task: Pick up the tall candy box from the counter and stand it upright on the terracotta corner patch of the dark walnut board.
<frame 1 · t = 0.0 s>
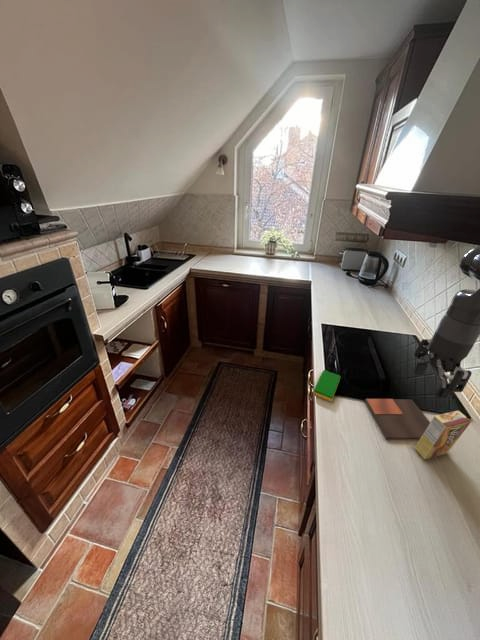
hand: (428, 385, 67), 25 cm above the worktop, tool pointing down, fingers open, 8 cm apart
candy box: (430, 451, 78), on the worktop
board: (399, 418, 89), on the worktop
dish sponge: (326, 387, 101), on the worktop
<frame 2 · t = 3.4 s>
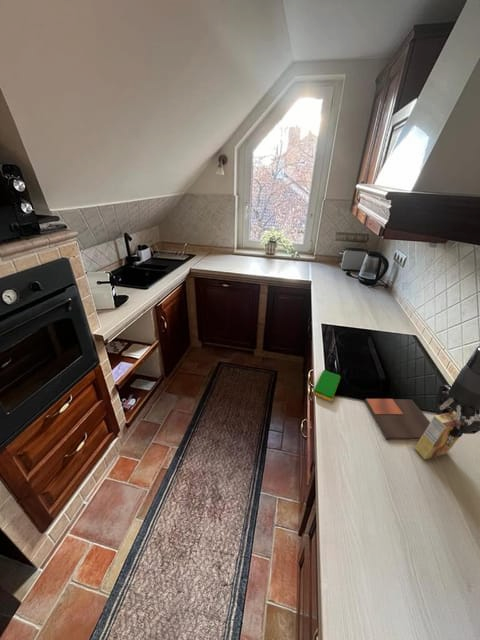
hand: (446, 427, 73), 11 cm above the worktop, tool pointing down, fingers closed on candy box, 4 cm apart
candy box: (430, 451, 78), on the worktop, touching gripper
everything else where it was.
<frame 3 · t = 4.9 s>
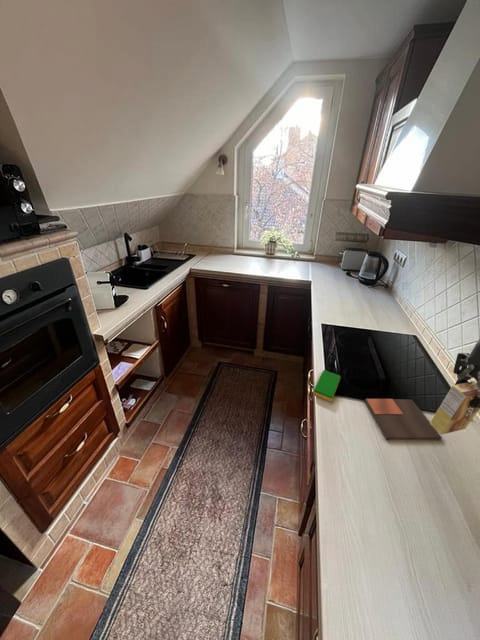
hand: (465, 398, 67), 23 cm above the worktop, tool pointing down, fingers closed on candy box, 4 cm apart
candy box: (446, 427, 73), point 11 cm above the worktop, touching gripper
everything else where it was.
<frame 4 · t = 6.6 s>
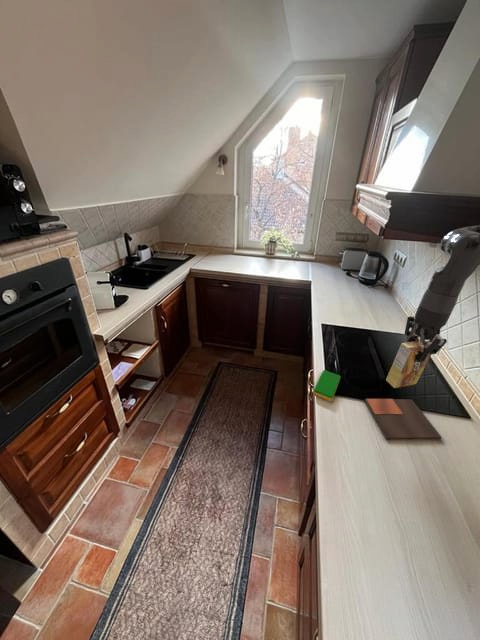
hand: (413, 355, 78), 26 cm above the worktop, tool pointing down, fingers closed on candy box, 4 cm apart
candy box: (400, 382, 84), point 14 cm above the worktop, touching gripper
everything else where it was.
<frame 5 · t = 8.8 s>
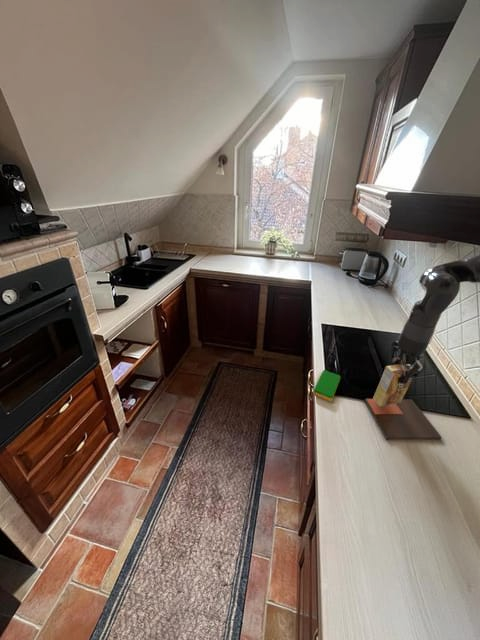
hand: (397, 376, 85), 15 cm above the worktop, tool pointing down, fingers closed on candy box, 4 cm apart
candy box: (386, 401, 91), point 4 cm above the worktop, touching gripper
everything else where it was.
when the fingers open (13 cm above the worktop, at t = 10.0 s): candy box stays where it is, resting on board.
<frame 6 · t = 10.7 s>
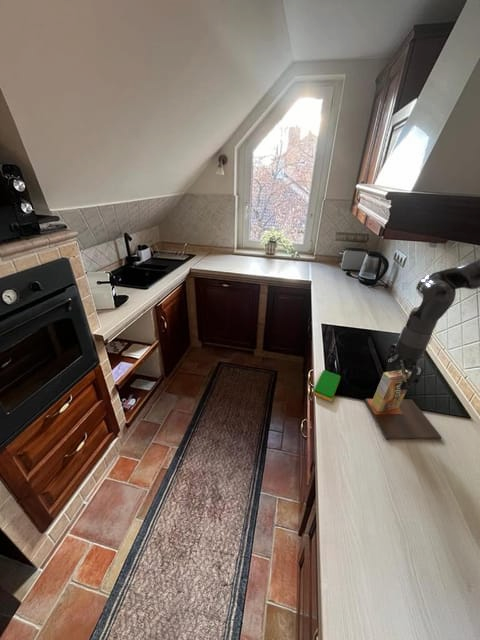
hand: (395, 380, 85), 14 cm above the worktop, tool pointing down, fingers open, 8 cm apart
candy box: (384, 406, 92), point 1 cm above the worktop, touching board
everything else where it was.
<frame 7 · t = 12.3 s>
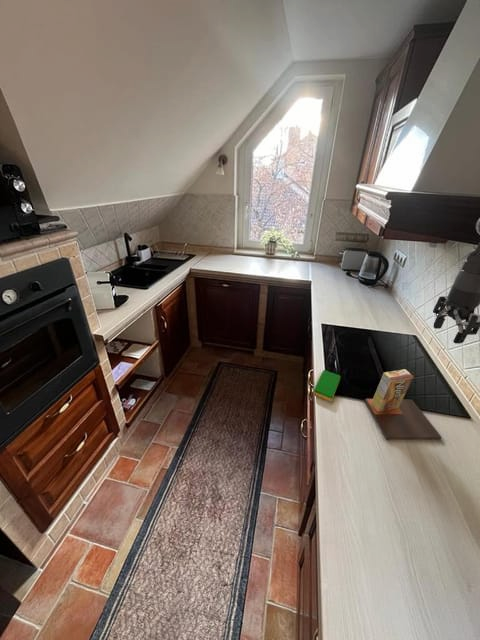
hand: (446, 335, 79), 31 cm above the worktop, tool pointing down, fingers open, 8 cm apart
nothing on the worktop moved.
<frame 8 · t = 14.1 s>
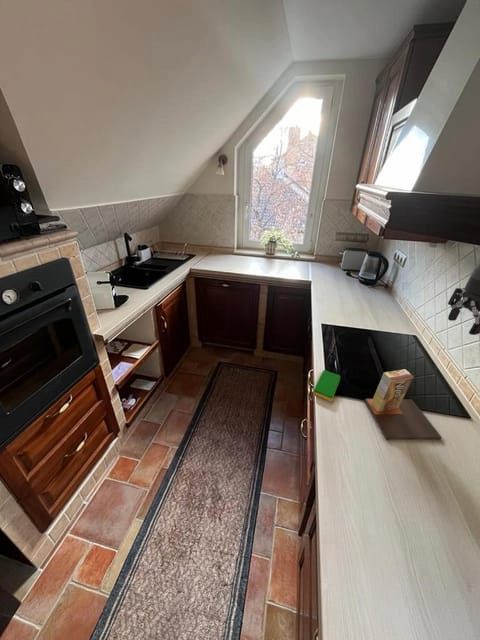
hand: (461, 326, 79), 33 cm above the worktop, tool pointing down, fingers open, 8 cm apart
nothing on the worktop moved.
at the end: candy box 0.1 cm from the target spot, point 1.0 cm above the worktop; candy box tilted 0°; the gripper is holding nothing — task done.
